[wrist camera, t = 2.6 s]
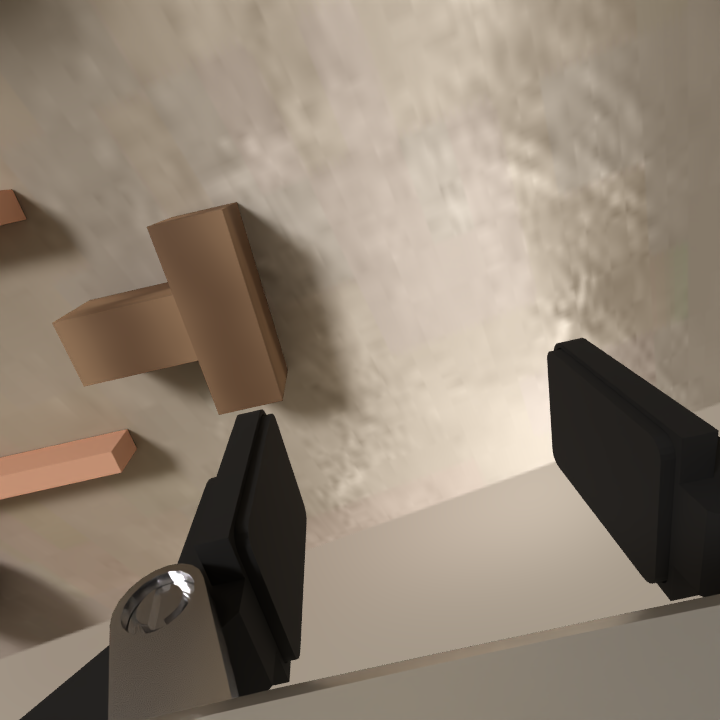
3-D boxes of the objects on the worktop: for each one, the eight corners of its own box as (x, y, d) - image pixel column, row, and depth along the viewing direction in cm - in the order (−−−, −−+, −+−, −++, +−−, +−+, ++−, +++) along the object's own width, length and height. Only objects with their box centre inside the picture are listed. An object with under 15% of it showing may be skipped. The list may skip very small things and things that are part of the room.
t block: (236, 202, 25) (221, 209, 21) (287, 369, 29) (282, 400, 25) (63, 242, 25) (19, 256, 22) (137, 403, 29) (110, 439, 25)
